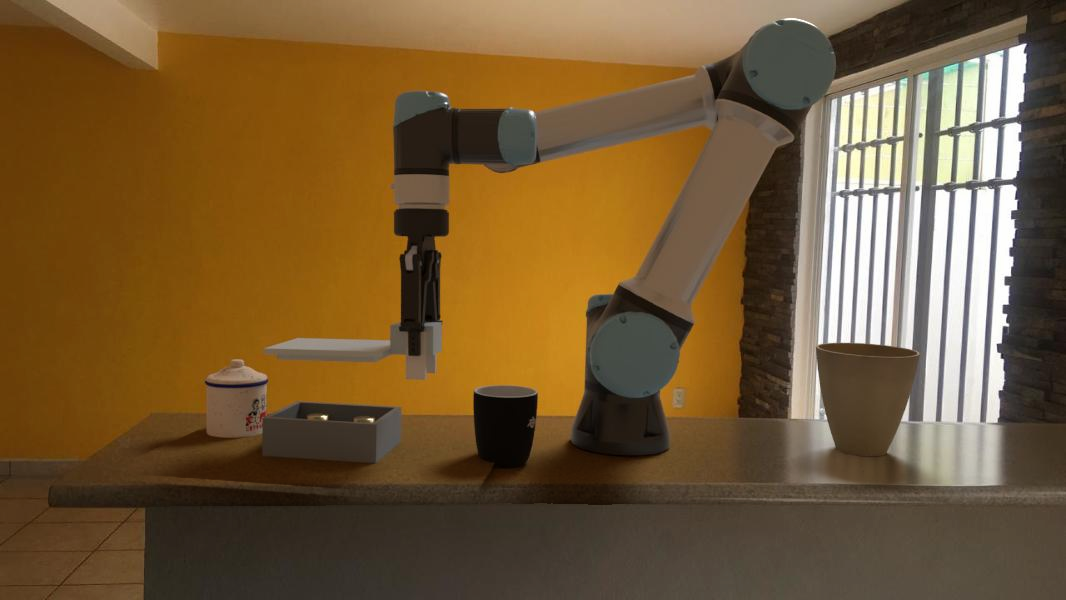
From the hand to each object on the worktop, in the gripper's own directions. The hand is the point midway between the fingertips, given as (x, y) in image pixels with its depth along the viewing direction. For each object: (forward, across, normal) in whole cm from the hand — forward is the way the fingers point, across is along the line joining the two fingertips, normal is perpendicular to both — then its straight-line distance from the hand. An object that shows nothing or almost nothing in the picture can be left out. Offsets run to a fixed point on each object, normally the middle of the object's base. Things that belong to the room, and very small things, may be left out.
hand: (421, 375), depth 120 cm
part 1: (+11, -2, -16) cm, 20 cm away
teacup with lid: (+12, -8, -31) cm, 34 cm away
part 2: (+11, -2, -9) cm, 15 cm away
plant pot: (+13, -21, +64) cm, 69 cm away
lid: (-2, 0, -9) cm, 9 cm away
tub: (+12, 0, -13) cm, 17 cm away
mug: (+12, -3, +11) cm, 17 cm away
